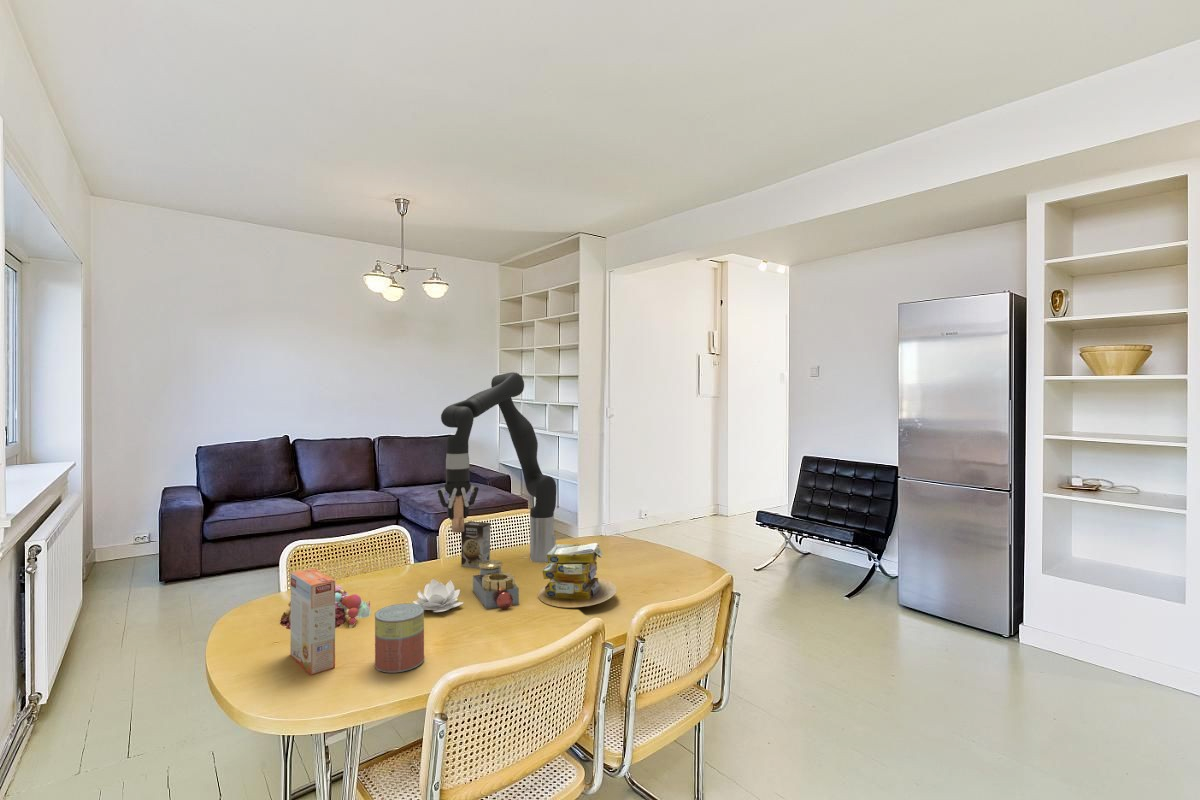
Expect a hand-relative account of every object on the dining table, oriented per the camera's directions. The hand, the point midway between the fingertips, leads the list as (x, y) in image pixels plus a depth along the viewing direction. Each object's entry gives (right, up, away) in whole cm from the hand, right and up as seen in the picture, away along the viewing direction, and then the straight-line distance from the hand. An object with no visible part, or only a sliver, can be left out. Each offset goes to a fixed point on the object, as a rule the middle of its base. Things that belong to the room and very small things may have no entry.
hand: (457, 518), depth 193 cm
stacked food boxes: (+43, -27, -7) cm, 51 cm away
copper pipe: (0, -4, 0) cm, 4 cm away
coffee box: (+1, -23, +25) cm, 34 cm away
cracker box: (-22, -24, -54) cm, 63 cm away
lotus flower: (-1, -24, -18) cm, 30 cm away
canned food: (-1, -24, -53) cm, 58 cm away
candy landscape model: (-31, -24, -25) cm, 47 cm away
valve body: (+14, -23, -10) cm, 29 cm away
